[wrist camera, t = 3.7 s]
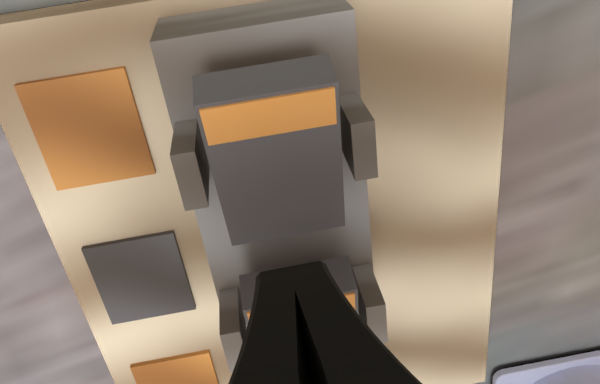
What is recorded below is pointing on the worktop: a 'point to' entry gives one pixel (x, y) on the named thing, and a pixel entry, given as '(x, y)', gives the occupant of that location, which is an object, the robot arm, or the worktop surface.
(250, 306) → the block
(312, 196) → the rocker
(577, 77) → the worktop surface
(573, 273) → the worktop surface
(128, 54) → the switch panel
